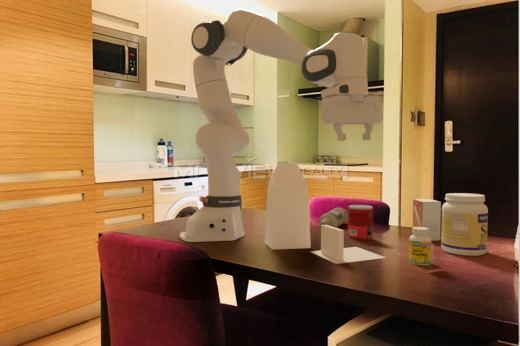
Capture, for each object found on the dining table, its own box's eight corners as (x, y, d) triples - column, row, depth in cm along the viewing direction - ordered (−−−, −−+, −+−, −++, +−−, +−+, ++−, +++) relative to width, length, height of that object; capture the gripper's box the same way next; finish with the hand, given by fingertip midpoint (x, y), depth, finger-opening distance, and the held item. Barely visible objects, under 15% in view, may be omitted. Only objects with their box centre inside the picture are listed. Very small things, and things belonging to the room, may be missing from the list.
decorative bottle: (330, 222, 174) (331, 206, 174) (348, 224, 171) (349, 208, 171) (310, 233, 151) (310, 215, 151) (330, 235, 148) (330, 216, 148)
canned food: (373, 241, 138) (373, 208, 137) (348, 240, 139) (348, 207, 139) (371, 236, 145) (372, 205, 145) (348, 235, 147) (348, 204, 146)
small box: (412, 235, 147) (412, 198, 146) (429, 235, 147) (430, 198, 146) (421, 240, 139) (422, 201, 138) (440, 240, 139) (441, 201, 138)
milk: (300, 241, 138) (301, 162, 136) (310, 249, 126) (311, 163, 125) (264, 243, 135) (264, 162, 134) (271, 251, 124) (271, 163, 123)
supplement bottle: (430, 263, 111) (431, 227, 111) (431, 268, 106) (431, 230, 106) (409, 261, 113) (409, 225, 113) (408, 266, 108) (409, 229, 108)
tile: (338, 260, 112) (338, 230, 111) (320, 252, 120) (321, 225, 120) (343, 259, 112) (344, 230, 112) (326, 252, 121) (326, 224, 120)
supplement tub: (486, 259, 116) (488, 197, 115) (438, 253, 122) (439, 195, 121) (487, 249, 126) (488, 193, 125) (443, 245, 132) (444, 191, 131)
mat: (336, 265, 108) (336, 263, 108) (309, 253, 121) (309, 251, 121) (386, 259, 115) (386, 257, 115) (356, 248, 127) (356, 246, 127)
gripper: (369, 94, 125) (372, 140, 125) (316, 91, 115) (319, 142, 115) (386, 90, 120) (389, 138, 120) (331, 86, 109) (334, 140, 109)
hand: (354, 140), depth 117 cm, fingers open, 8 cm apart
